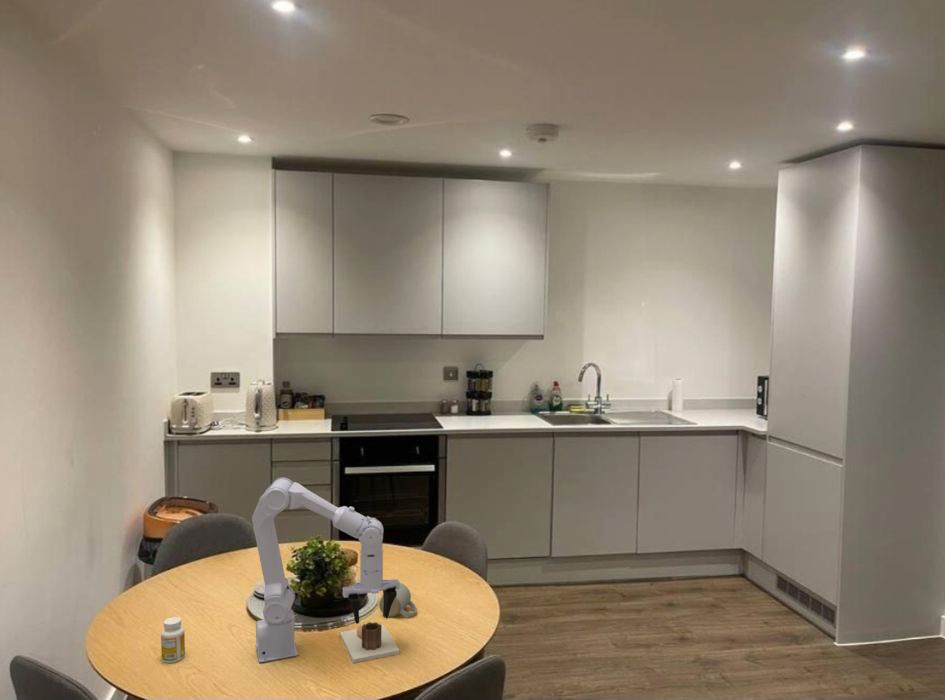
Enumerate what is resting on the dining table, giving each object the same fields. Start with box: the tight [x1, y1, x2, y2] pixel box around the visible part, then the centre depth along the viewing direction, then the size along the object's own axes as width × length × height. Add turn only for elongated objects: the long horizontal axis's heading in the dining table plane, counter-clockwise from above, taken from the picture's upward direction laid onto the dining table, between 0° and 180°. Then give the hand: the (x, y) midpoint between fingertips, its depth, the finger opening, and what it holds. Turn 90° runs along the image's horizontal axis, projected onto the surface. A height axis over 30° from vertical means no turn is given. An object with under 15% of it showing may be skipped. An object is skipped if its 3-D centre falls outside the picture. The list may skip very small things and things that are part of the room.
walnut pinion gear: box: [361, 622, 381, 650], centre depth 177 cm, size 5×5×5 cm
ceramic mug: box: [378, 582, 418, 618], centre depth 198 cm, size 10×8×7 cm
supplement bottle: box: [160, 616, 186, 664], centre depth 172 cm, size 5×5×10 cm
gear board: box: [339, 623, 401, 664], centre depth 179 cm, size 12×15×4 cm
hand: (371, 619), depth 177 cm, fingers open, 7 cm apart
